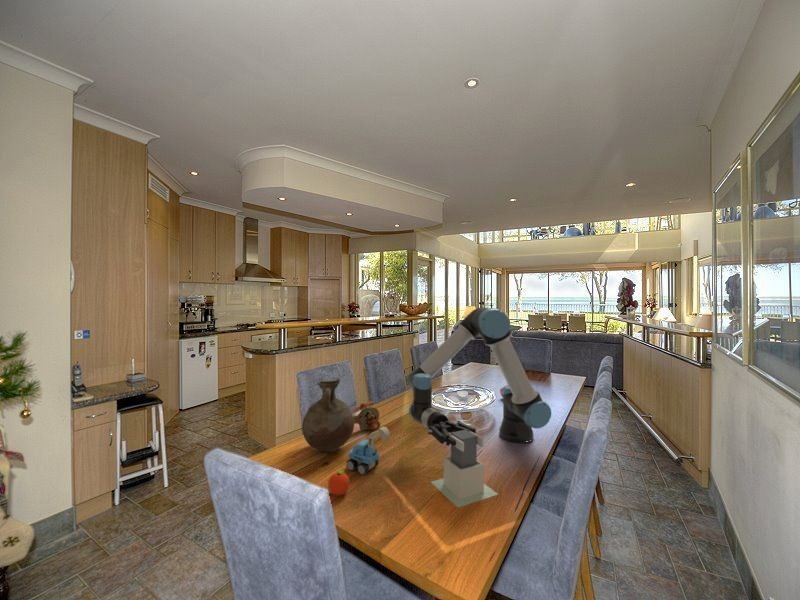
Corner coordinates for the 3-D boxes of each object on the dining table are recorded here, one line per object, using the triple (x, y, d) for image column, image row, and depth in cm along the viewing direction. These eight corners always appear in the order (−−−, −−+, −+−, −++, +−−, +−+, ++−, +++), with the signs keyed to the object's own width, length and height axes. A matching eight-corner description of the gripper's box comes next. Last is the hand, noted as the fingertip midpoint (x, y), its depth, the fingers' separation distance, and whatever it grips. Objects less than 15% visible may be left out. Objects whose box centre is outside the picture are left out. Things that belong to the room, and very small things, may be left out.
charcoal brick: (465, 458, 119) (465, 429, 119) (476, 466, 114) (476, 436, 114) (450, 461, 117) (451, 432, 117) (461, 470, 111) (461, 439, 111)
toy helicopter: (382, 429, 168) (382, 401, 168) (342, 438, 157) (342, 408, 157) (374, 424, 175) (374, 397, 175) (335, 432, 164) (335, 403, 164)
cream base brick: (466, 477, 122) (466, 452, 122) (483, 491, 113) (484, 464, 113) (443, 484, 118) (443, 458, 117) (460, 499, 109) (460, 470, 109)
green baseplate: (467, 474, 126) (467, 471, 126) (498, 497, 112) (498, 494, 112) (430, 484, 119) (430, 481, 119) (457, 510, 105) (457, 507, 105)
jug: (348, 435, 160) (348, 371, 160) (359, 456, 140) (359, 382, 140) (300, 442, 153) (300, 375, 152) (304, 465, 132) (304, 387, 132)
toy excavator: (380, 482, 121) (380, 433, 120) (344, 469, 130) (344, 424, 129) (393, 471, 128) (393, 425, 128) (358, 460, 137) (358, 417, 137)
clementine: (337, 484, 119) (337, 464, 119) (355, 489, 116) (355, 468, 116) (323, 497, 112) (323, 475, 112) (342, 502, 109) (342, 479, 109)
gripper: (456, 426, 136) (496, 450, 115) (411, 435, 127) (446, 462, 106) (456, 407, 136) (497, 428, 115) (412, 415, 127) (447, 438, 106)
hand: (472, 444), depth 111 cm, fingers open, 7 cm apart
